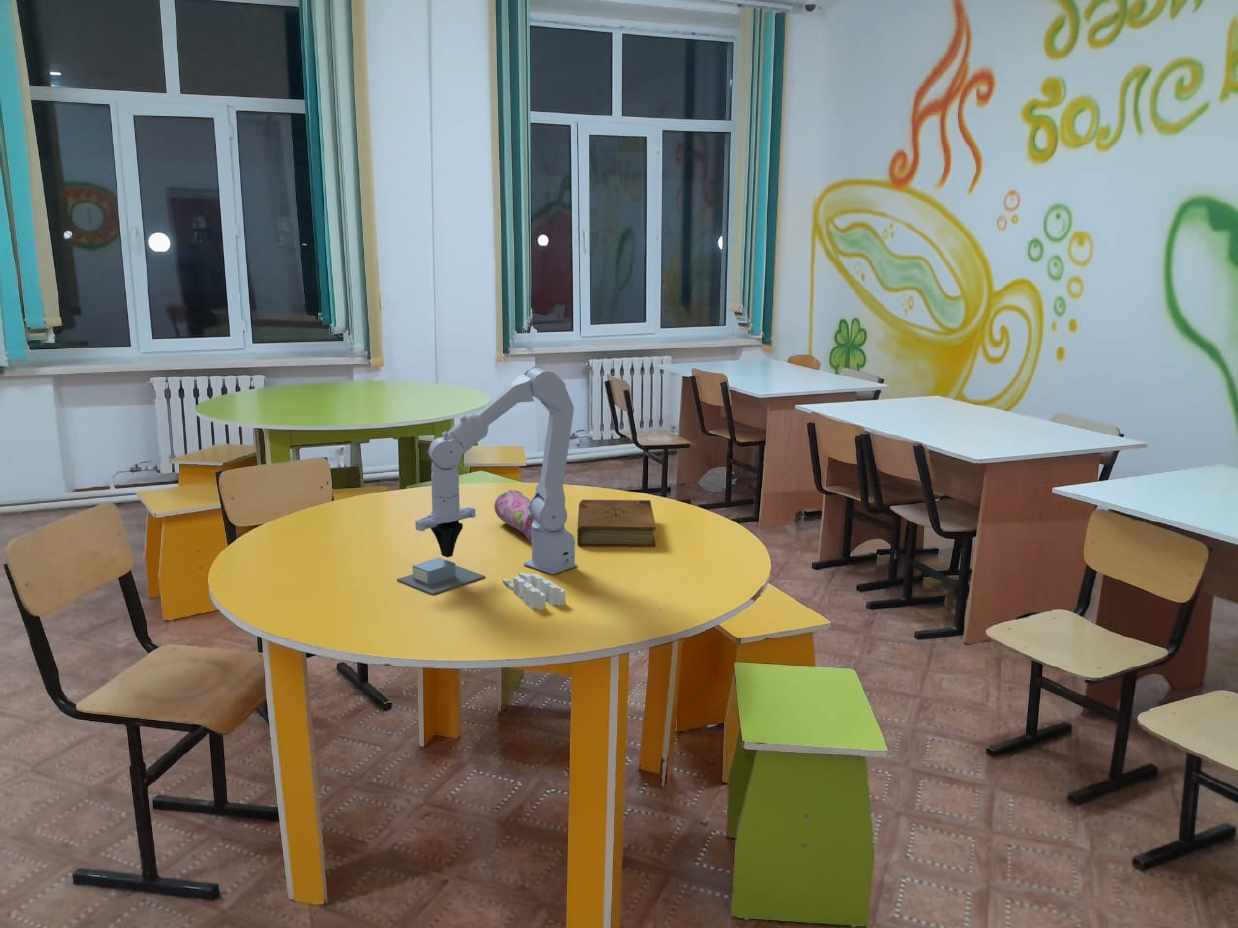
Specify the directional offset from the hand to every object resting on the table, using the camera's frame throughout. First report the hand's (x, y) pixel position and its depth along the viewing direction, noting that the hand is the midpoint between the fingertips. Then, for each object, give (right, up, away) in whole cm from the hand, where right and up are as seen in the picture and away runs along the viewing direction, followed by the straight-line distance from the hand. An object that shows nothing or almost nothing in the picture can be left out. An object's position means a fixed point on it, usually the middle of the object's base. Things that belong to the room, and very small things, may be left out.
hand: (447, 555), depth 194 cm
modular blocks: (+19, -7, -8) cm, 22 cm away
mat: (-1, -5, -1) cm, 5 cm away
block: (0, -2, +1) cm, 3 cm away
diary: (+36, +2, +33) cm, 49 cm away
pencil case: (+14, +2, +32) cm, 35 cm away
